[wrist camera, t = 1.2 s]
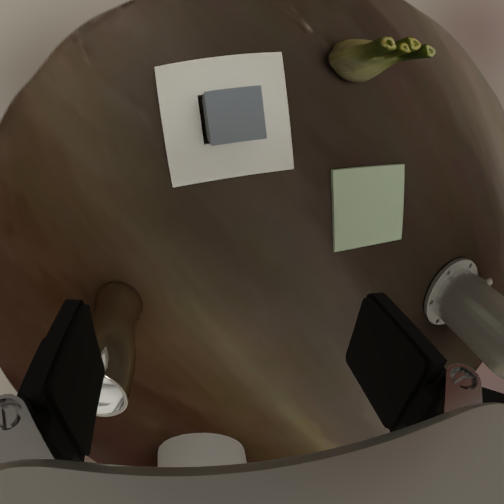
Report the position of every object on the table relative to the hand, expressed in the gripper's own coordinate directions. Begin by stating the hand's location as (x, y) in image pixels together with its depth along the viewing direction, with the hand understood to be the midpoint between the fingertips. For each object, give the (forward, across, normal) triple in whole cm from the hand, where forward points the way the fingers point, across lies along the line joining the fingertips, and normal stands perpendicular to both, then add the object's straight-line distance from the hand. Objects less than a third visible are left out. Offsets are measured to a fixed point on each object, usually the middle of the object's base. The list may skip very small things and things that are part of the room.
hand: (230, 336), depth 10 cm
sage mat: (+24, -20, +2) cm, 31 cm away
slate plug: (+25, -2, -7) cm, 26 cm away
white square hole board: (+24, -2, -7) cm, 26 cm away
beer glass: (+25, +10, +15) cm, 31 cm away
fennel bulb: (+25, -15, -15) cm, 32 cm away
